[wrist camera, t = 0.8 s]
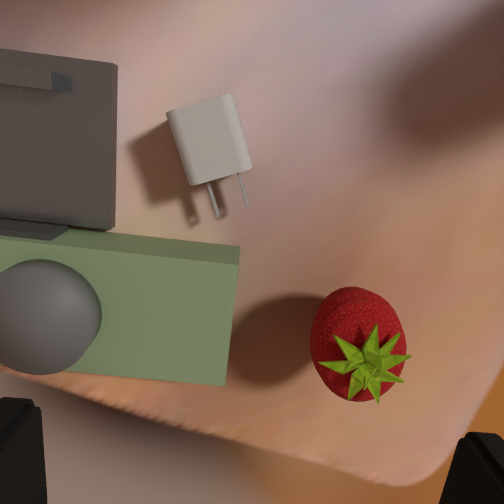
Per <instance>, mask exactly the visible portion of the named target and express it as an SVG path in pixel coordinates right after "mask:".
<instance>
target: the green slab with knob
mask: <svg viewBox="0 0 504 504" xmlns="http://www.w3.org/2000/svg"><path fill="white" fill-rule="evenodd" d="M239 255H240V247H237V246H228V245H219V244H210V243H201V242H192V241H183V240H174V239H165V238H156V237H147V236H138V235H129V234H120V233H111V232H102V231H93V230H84V229H75V228H68V225H63V224H54V223H45V222H36V221H27V220H18V219H9V218H0V365H5V366H7V367H9V368H11V369H14V370H16V371H19V372H23V373H27V374H34V375H47V374H53V373H57V372H60V371H70V372H80V373H91V374H101V375H112V376H122V377H133V378H143V379H154V380H164V381H175V382H186V383H196V384H207V385H217V386H225V381H226V372H227V363H228V355H229V346H230V337H231V329H232V320H233V311H234V303H235V294H236V286H237V277H238V268H239Z"/></svg>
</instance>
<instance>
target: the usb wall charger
mask: <svg viewBox="0 0 504 504" xmlns="http://www.w3.org/2000/svg"><path fill="white" fill-rule="evenodd" d="M166 116H167V119H168V122H169V125H170V128H171V131H172V134H173V137H174V140H175V143H176V146H177V149H178V152H179V155H180V159H181V162H182V165H183V168H184V171H185V174H186V177H187V180H188V183H189V186H194V185H198V184H201V183H205V182H206V184H207V187H208V190H209V194H210V197H211V200H212V203H213V206H214V209H215V212H216V215H217V218H219V216H220V214H219V210H218V207H217V204H216V200H215V197H214V194H213V191H212V188H211V184H210V181H212V180H215V179H219V178H222V177H226V176H229V175H233V174H236V173H237V175H238V179H239V182H240V186H241V189H242V192H243V196H244V199H245V203H246V206H247V209H249V203H248V200H247V196H246V193H245V189H244V186H243V182H242V179H241V175H240V172H243V171H246V170H249V169H251V168H253V167H252V162H251V158H250V155H249V151H248V147H247V144H246V140H245V137H244V133H243V129H242V126H241V122H240V118H239V115H238V111H237V108H236V104H235V100H234V97H233V94H232V93H230V94H225V95H221V96H218V97H215V98H211V99H208V100H205V101H201V102H198V103H195V104H191V105H188V106H185V107H182V108H178V109H175V110H172V111H169V112H167V113H166Z"/></svg>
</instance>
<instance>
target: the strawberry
mask: <svg viewBox="0 0 504 504" xmlns="http://www.w3.org/2000/svg"><path fill="white" fill-rule="evenodd" d="M310 351H311V356H312V361H313V363H314V366H315V368H316V370H317V372H318V373H319V375H320V377H321V378H322V380H323V381H324V383H325V385H326V386H327V387H328V388H329V389H330V390H331V391H332V392H333V393H335V394H336V395H338V396H339V397H341V398H344V399H346V400H347V402H348V401H349V400H350V401H355V402H362V401H368V400H372V399H375V400H376V401H377V403H378V405H379V397H380V396H381V395H382V394H384V393H385V392H387V391H388V390H389V389H390V388H391V387H392V386H393V385H394V383H395V382H403V383H404V380H402V379H401V378H399V376H400V374H401V371H402V369H403V367H404V362H405V360H407V359H409V358H411V355H406V340H405V335H404V332H403V329H402V326H401V323H400V321H399V318H398V316H397V314H396V312H395V310H394V309H393V308H392V307H391V305H390V304H389V303H388V302H387V301H386V300H385V299H383V298H382V297H381V296H379V295H377V294H375V293H373V292H370V291H368V290H365V289H363V288H359V287H344V288H340V289H338V290H336V291H334V292H332V293H331V294H330V295H328V296H327V297H326V298H325V299H324V300H323V302H322V303H321V304H320V306H319V308H318V310H317V311H316V314H315V318H314V321H313V326H312V331H311V337H310Z"/></svg>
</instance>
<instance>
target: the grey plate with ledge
mask: <svg viewBox="0 0 504 504" xmlns="http://www.w3.org/2000/svg"><path fill="white" fill-rule="evenodd" d="M117 69H118V66H117V65H115V64H113V63H107V62H99V61H92V60H84V59H76V58H69V57H61V56H53V55H45V54H38V53H30V52H22V51H15V50H7V49H0V217H1V218H10V219H19V220H28V221H37V222H46V223H55V224H64V225H73V226H82V227H91V228H100V229H109V230H111V229H112V228H113V227H115V197H116V133H117Z"/></svg>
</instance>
